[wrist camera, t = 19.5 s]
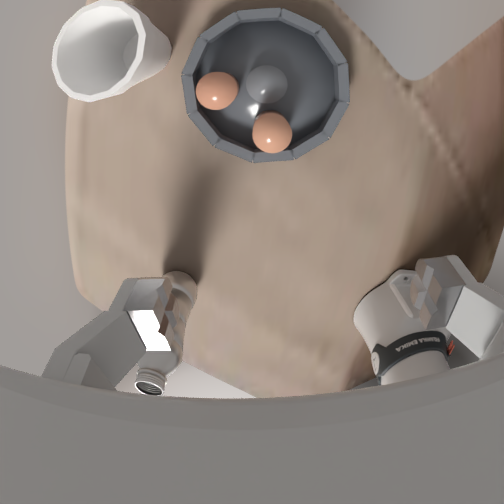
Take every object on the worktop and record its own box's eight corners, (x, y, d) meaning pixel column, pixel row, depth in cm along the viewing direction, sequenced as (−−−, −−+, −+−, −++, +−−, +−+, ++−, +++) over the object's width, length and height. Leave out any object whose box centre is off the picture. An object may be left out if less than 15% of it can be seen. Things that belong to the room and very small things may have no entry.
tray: (336, 13, 25) (342, 9, 22) (343, 151, 35) (350, 158, 32) (181, 24, 26) (174, 21, 24) (200, 161, 36) (196, 168, 34)
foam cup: (118, 20, 25) (59, 8, 14) (189, 18, 26) (153, -7, 15) (110, 89, 30) (49, 104, 20) (178, 90, 31) (138, 102, 20)
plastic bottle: (165, 296, 49) (134, 399, 33) (157, 264, 46) (114, 370, 29) (202, 297, 49) (181, 404, 33) (196, 264, 45) (167, 376, 29)
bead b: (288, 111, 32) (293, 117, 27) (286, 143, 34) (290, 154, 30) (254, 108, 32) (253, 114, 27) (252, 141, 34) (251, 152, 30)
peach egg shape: (202, 74, 29) (193, 74, 25) (237, 70, 29) (234, 69, 25) (206, 106, 31) (198, 112, 27) (240, 102, 31) (238, 107, 27)
